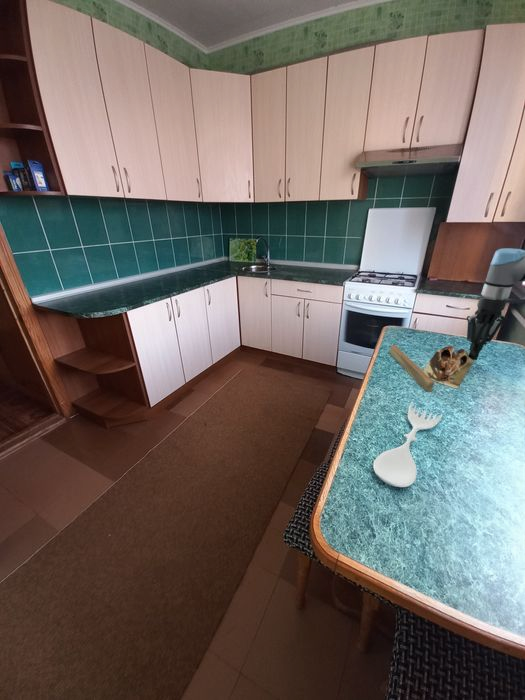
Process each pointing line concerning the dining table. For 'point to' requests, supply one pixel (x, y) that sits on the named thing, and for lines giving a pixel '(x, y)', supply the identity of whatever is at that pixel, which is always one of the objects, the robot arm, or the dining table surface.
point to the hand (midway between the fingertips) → (472, 358)
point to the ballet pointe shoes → (448, 366)
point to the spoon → (403, 453)
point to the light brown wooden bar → (412, 368)
